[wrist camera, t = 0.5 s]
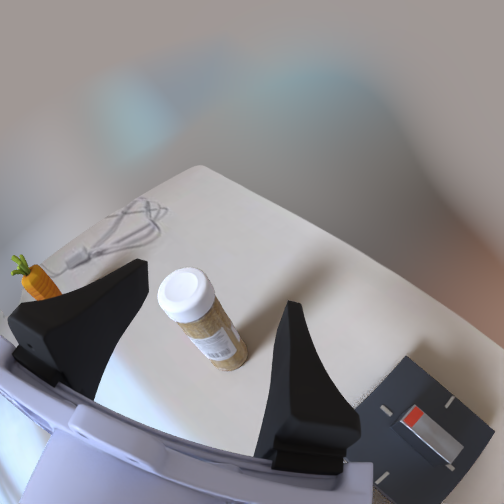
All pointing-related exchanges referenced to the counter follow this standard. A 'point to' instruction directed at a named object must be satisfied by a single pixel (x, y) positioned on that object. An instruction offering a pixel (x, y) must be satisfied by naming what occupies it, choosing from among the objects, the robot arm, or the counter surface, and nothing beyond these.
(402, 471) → the base
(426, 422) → the tap handle
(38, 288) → the carrot
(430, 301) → the counter surface
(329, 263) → the counter surface
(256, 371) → the counter surface
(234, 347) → the sprinkles bottle
